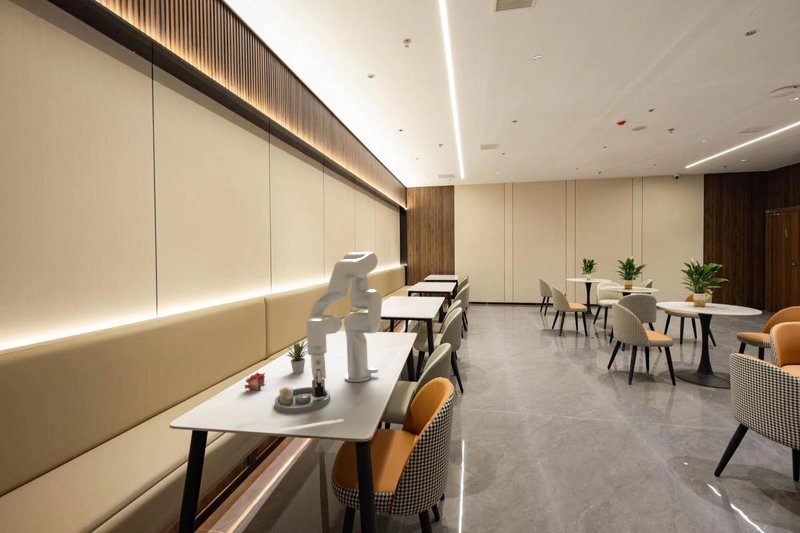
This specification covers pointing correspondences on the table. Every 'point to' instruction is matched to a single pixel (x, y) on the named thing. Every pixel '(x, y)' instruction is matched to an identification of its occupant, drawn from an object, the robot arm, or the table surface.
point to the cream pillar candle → (286, 396)
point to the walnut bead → (315, 386)
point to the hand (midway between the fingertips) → (318, 393)
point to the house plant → (297, 357)
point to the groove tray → (303, 401)
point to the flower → (255, 381)
